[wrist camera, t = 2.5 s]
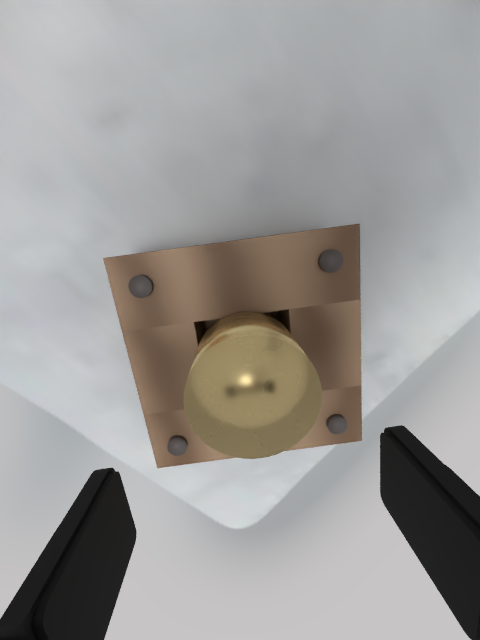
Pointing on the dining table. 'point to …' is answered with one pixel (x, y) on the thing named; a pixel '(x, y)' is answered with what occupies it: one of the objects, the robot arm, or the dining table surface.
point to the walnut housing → (232, 297)
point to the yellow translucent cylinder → (251, 387)
